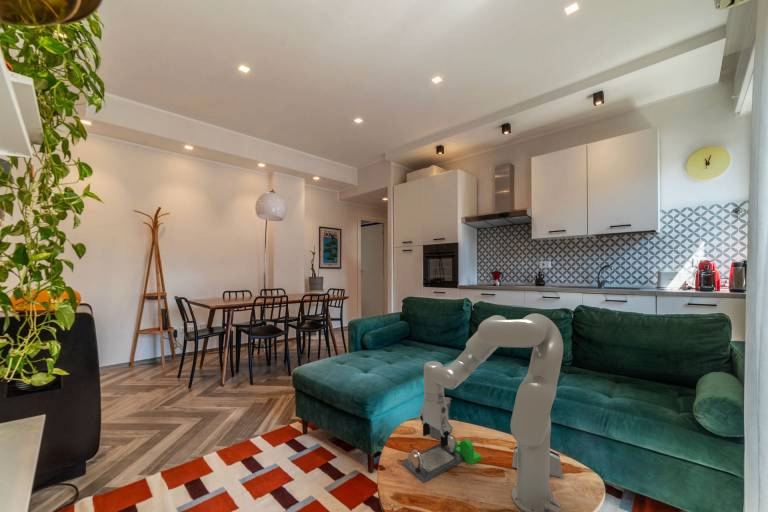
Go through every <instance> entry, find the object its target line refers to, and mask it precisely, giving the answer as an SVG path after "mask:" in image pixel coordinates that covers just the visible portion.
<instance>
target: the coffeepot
mask: <svg viewBox="0 0 768 512" xmlns="http://www.w3.org/2000/svg"><path fill="white" fill-rule="evenodd" d="M444 397H445V401H446V404H447V410H448V416H449V414H450V409H451V401H452V400H453V399H452V398H451V397H446V396H444ZM442 427H443V425H442ZM442 430H443V432H445V430H444V429H442ZM449 435H451V433H450V434H449ZM429 436H430V437H431V438H433V439H436V440H440V441H441V436H442V435H441V433H440V431H439V430H438V429H436V428H434V427H433V426H431V425H430V434H429Z"/></svg>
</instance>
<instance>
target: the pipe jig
mask: <svg viewBox="0 0 768 512" xmlns="http://www.w3.org/2000/svg"><path fill="white" fill-rule="evenodd" d="M457 442H458V440H457V439H456V437H455V436H454V435H452V434H450V435H448V445H447V446H445V447H443V448H442V447H441V442H440V443H438V444H436V445H433V446H431V447H429V448H427V449H425V450H421V451H419V450H418V449H413V450H412V451H411V452H410V453H409V454H408V457H406V458H405V459H404V460H402V466H404V468H406V470H407V471H409V472H410V473H412V474H413V475H414V476H415V477H416V478H417V479H418V480H420V481H421V482H422V483H426V482H428V481H430V480H431V479H434V478H435V477H437V476H439V475H441V474H443V473H445V472H446V471H448V470H451V469H452V468H454V467H456V466H458V465H460V464H461V463H463V462H465V461H464V457H463V456H462V455H460V454H459V453H457V452H456V450H455V449H456V448H457V446H458V444H457Z"/></svg>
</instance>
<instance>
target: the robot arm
mask: <svg viewBox="0 0 768 512" xmlns="http://www.w3.org/2000/svg"><path fill="white" fill-rule="evenodd" d="M500 347H501V348H520V349H521V348H533V349H532V352H531V356H530V362H529V366H528V370H527V373H526V376H525V377H524V379H523V381H521V383H520V385H519V387H518V389H517V391H516V392H517V393H516V396H515V401H514V406H513V409H512V414H511V419H510V431H511V435H512V437H513V439H514V441H516V445H517V468H516V486H514V487H513V488H512V490H511V498H512V502H513V503H514V504H515V505H516V506H517V507H518V508H519V509H520V510H521V511H523V512H563V511H562V504H561V503H559V502H557V501H556V500H555V499H554V493H553V492H552V491H550V482H551V481H550V476H551V475H550V449H551V430H552V420H551V419H552V418H551V411H552V407H553V403H554V400H555V399H556V396H557V386H558V382H559V376H560V372H561V367H562V363H563V362H562V360H563V357H564V356H563V355H564V341H563V337H562V334H561V331H560V330H559V328H558V327H557V325H556V324H555V323H554V322H553V321H552V320H551V319H550V318H549V317H547V316H545V315H543V314H540V313H530V314H528V315H526V316H524V317H523V318H521V319H520V318H519V319H507V318H506V317H505V316H503V315H500V314H499V315H498V314H496V315H491V316H490V317H488V318H485V319H484V320H483V321H481V322H480V324H479V325H478V327H477V331H476V332H475V333H474V334H473V335H472V336H471V337H470V338H469V339H468V340H467V341H466V343H465V348H464V350H463V351H462V352H461V353H460V354H459V356H457V358H456V359H455V360H454V361H452V362H451V363H449V364H448V365H447V366H444V365H443V364H442V363H441V362H439V361H435V360H431V361H430V360H429V361H427V362H425V363H424V364H423V391H424V392H423V393H424V394H423V401H422V409H419V410H418V413H419V414H418V415H419V419H420V420H421V425H422V436H423V437H426V436H428V435H430V425H431V426H433V427H434V428H436V429H438V430H439V431H440V433H441V435H442V436H441V440H440V443H441V447H442V448H443V447H445V446H447V445H448V435H449V434H450V435H451V433H452V431H453V428H454V427H453V426H452V425H451V423H450V422H449V415H448V410H447V404H446V401H445V397H446V396H445V389H447V390H454V389H456V388H457V387H458V386H460V385H461V384H462V383H463V382H464V381H465V380H467V378H469V376H470V375H471V374H472V373H474V371H476V369H478V367H479V366H480V365H482V363H484V362H485V361H486V360H487V359H488V358H489V357H490V356H491V355H492V354H493V353H494V352H495V351H496V350H497V349H498V348H500ZM442 425H443V427H442ZM442 429H444V430H445V432H443V430H442Z"/></svg>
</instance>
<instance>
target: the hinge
mask: <svg viewBox="0 0 768 512" xmlns="http://www.w3.org/2000/svg"><path fill="white" fill-rule="evenodd" d="M511 462H512V465H511V466H512V468H514V469H517V444H515V445H514V449H513V455H512V461H511ZM562 469H563V467H562V462H561V456H560V454H559V452H557V451H556V450H554V449H552V448H550V476H552V477H557V478H561V479H562V478H563V476H564V475H563V470H562Z"/></svg>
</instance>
